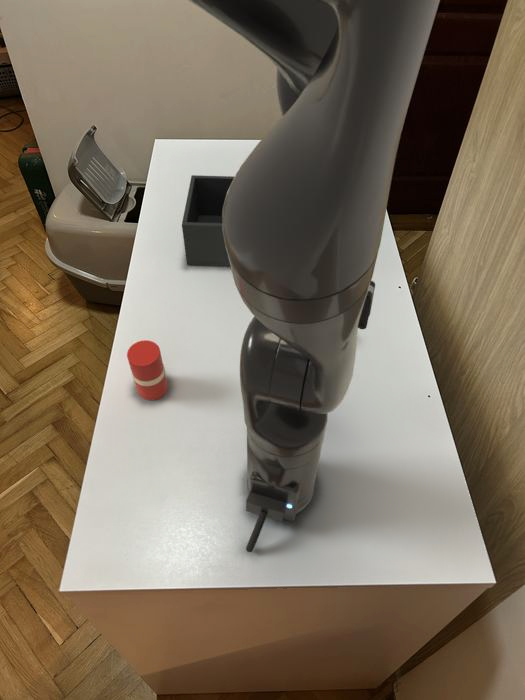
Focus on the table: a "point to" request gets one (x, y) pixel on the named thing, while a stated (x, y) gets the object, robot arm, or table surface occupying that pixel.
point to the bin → (205, 221)
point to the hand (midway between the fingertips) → (308, 330)
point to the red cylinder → (147, 369)
